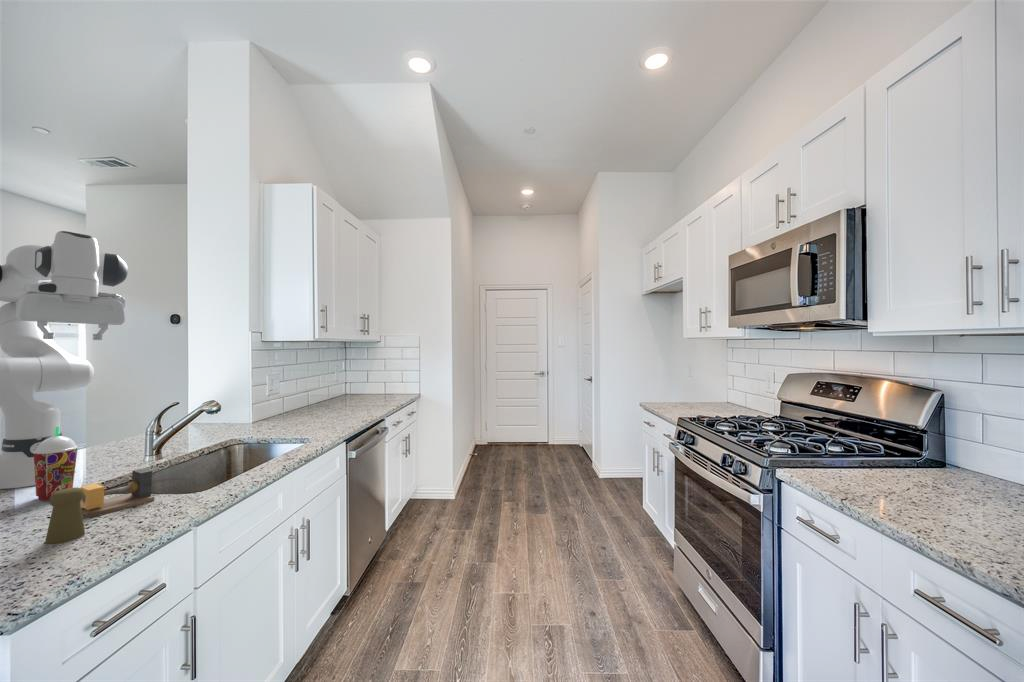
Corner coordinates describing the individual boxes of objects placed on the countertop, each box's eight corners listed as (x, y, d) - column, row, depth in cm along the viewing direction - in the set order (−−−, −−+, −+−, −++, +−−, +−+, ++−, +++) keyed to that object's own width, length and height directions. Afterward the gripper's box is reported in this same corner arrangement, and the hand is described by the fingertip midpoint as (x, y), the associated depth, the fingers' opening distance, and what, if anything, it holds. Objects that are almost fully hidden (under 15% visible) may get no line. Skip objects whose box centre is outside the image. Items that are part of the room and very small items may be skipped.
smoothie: (70, 498, 110) (73, 427, 111) (25, 505, 106) (28, 430, 106) (80, 489, 117) (83, 422, 118) (38, 495, 113) (41, 425, 113)
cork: (57, 546, 85) (59, 495, 86) (37, 542, 87) (39, 492, 87) (92, 533, 91) (94, 486, 91) (72, 530, 92) (74, 483, 93)
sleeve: (79, 506, 102) (80, 486, 102) (95, 502, 105) (96, 483, 105) (87, 509, 100) (88, 490, 100) (103, 505, 103) (104, 486, 103)
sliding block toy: (75, 510, 103) (76, 479, 103) (139, 494, 115) (140, 466, 115) (89, 517, 99) (90, 486, 99) (154, 500, 111) (155, 472, 111)
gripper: (120, 295, 120) (119, 340, 119) (14, 285, 101) (12, 338, 101) (129, 294, 117) (128, 340, 117) (22, 283, 99) (20, 338, 98)
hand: (73, 339), depth 109 cm, fingers open, 8 cm apart
